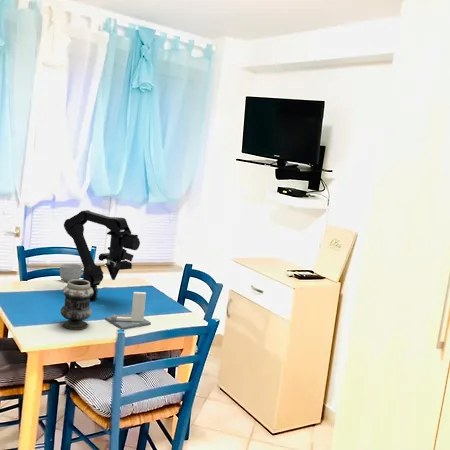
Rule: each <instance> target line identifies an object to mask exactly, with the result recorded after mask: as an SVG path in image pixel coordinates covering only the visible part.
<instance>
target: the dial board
mask: <svg viewBox="0 0 450 450" xmlns="http://www.w3.org/2000/svg"><path fill="white" fill-rule="evenodd" d="M131 313H132V312H129V313H123V314H116V315H117V317H131ZM104 320H105V321H107V322H108V323H110V324H111V325H114V326H115V327H116V328H118V329H120V330H122V329H124V330H129V329H134V328H140V327H145V326H150V325H151V322H150V321H149V320H147V319H146V318H144V319H143V321H121V320H117V321H112V320H111V315H110V316H105V318H104Z"/></svg>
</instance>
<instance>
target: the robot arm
mask: <svg viewBox="0 0 450 450" xmlns="http://www.w3.org/2000/svg"><path fill="white" fill-rule="evenodd" d="M87 222H92V223H95V224H98V225H102V226H104V227H106V229H108V230H109V231H108V232H106V235H107V236H110V242H109V246H108V247H107V250H108V251H109V252H105V253H100V254H99V255H98V261H101V262H103V261H104V260H106V262H105V264H104V265H105V266H106V268H107V270H108V273H109V275H110V278H111V280H112V281H115V280H116V279H117V276H118V274H119V271H120V270H121V271H124V270H132V269H133V263H132V261H133V258H134V254H132V253H129V252H127V249H128V250H132V251H137V250H138V249H139V247H140V246H141V241H140V238H139V235H138V234H133V233H132V230H131V229H130V226H129V225H128V221H127V219H126V218H125V217H117V216H116V217H115V216H114V217H112V216H107V215H104V214H101V213H96V212H94V211H91V210H88V209H86V210H81V211H80V212H78V213H77V214H75V215H73V216H72V217H71V216H70V218H67V219H65V221H64V223H63V228H64V230H65V232H66V233H67V235H68V236H69V237H71V238H72V239H73V242H74V245H75V247H76V250H77V253H78V255H79V258H80V260H81V263H82V265H83V266H84V267H83V270H82V272H83V274H82V275H83V278H82V279H81V280H86V281H89V282H90V287H91V288H92V289H93V292H94V293H93V295H92V296H91V297H90V302H94V301H95V300H96V299H98V293H99V289H98V286H100V284H101V282H102V281H103V279H104V271H103V270H102V266H101V265H97V264H96V263H95V262H94V258H93V256H92V254H91V251H90V249H89V247H88V243H87V241H86V238H85V236H84V235H85V234H84V231H85V227H84V225H85V224H86V223H87Z"/></svg>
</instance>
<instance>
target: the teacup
mask: <svg viewBox="0 0 450 450" xmlns="http://www.w3.org/2000/svg"><path fill="white" fill-rule="evenodd" d="M83 269H84V266H83V264H79V263H63V264H60V265H59V276H60V279H62V280H63V281H64V282H67V283H68V281H70V280H72V279H81V277H82V275H83Z"/></svg>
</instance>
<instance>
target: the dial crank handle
mask: <svg viewBox="0 0 450 450" xmlns="http://www.w3.org/2000/svg"><path fill="white" fill-rule="evenodd" d="M146 298H147V292H145V291H143V292H142V291H133V293H132V305H131V312H130V313H131V317H117V315H118V314H115V313H114V314H111V315H110V316H111V320H112V321H117V320H121V321H143V319H145V318H144V317H145V308H146Z"/></svg>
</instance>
